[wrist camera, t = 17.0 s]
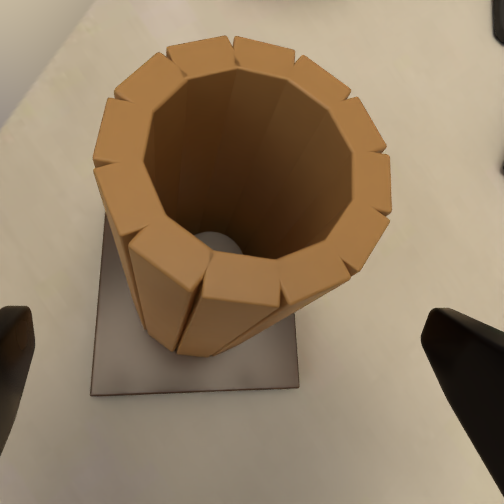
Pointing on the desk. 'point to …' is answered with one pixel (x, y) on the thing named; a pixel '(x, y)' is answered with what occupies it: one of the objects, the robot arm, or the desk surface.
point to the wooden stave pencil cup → (237, 188)
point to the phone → (499, 19)
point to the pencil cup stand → (170, 363)
